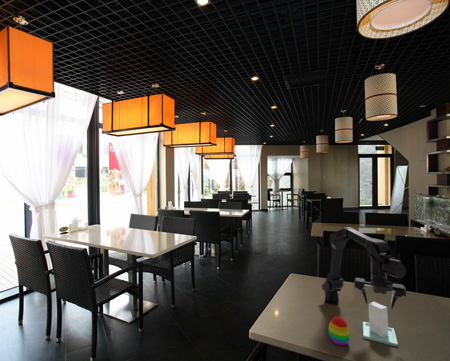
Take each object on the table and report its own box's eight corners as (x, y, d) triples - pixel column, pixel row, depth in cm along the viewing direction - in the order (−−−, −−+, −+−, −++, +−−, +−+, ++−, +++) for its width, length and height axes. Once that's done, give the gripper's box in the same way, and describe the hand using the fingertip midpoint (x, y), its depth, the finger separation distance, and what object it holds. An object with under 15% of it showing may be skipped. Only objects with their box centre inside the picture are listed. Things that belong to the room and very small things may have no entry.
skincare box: (388, 335, 106) (388, 307, 106) (382, 338, 104) (382, 309, 104) (374, 328, 112) (374, 300, 112) (368, 330, 110) (368, 303, 110)
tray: (363, 338, 105) (363, 335, 105) (362, 324, 116) (362, 321, 116) (397, 347, 100) (397, 344, 100) (393, 331, 110) (393, 328, 110)
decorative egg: (324, 340, 104) (324, 316, 104) (334, 333, 109) (334, 310, 109) (344, 350, 98) (343, 325, 98) (353, 342, 103) (353, 318, 103)
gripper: (354, 272, 105) (354, 309, 105) (408, 280, 97) (408, 320, 96) (354, 264, 115) (354, 298, 115) (403, 271, 106) (404, 307, 106)
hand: (379, 306), depth 108 cm, fingers open, 9 cm apart
